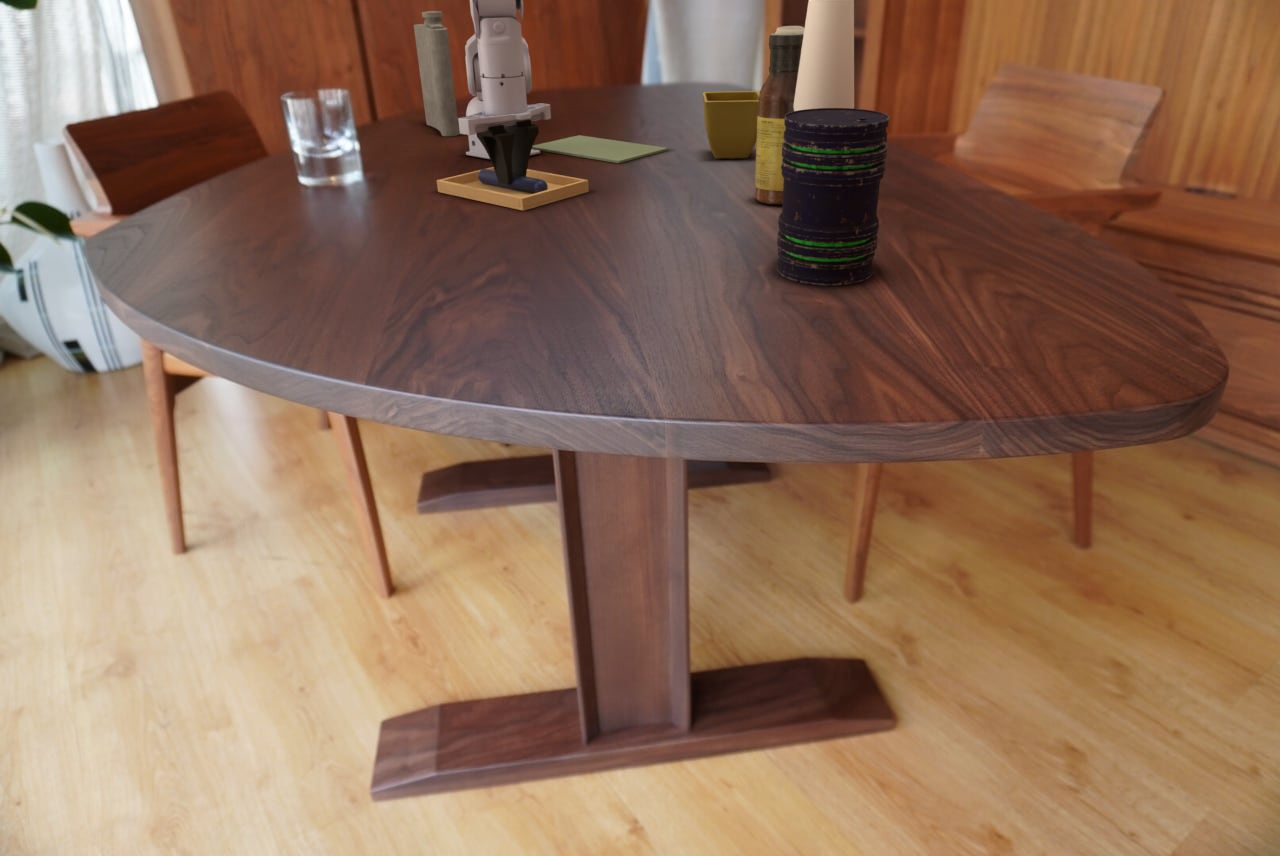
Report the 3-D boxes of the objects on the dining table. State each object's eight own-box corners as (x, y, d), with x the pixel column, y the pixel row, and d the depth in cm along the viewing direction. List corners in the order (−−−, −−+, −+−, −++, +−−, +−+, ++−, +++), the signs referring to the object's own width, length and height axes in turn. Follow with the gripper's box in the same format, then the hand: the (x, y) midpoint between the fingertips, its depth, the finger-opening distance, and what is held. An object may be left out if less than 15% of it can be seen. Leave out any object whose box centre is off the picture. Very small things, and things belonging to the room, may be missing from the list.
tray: (437, 192, 125) (436, 180, 124) (503, 175, 133) (502, 164, 133) (523, 210, 115) (522, 198, 114) (588, 191, 123) (588, 180, 123)
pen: (476, 183, 127) (474, 169, 126) (486, 181, 128) (485, 166, 128) (540, 197, 120) (539, 181, 119) (551, 194, 121) (550, 179, 120)
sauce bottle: (801, 207, 114) (812, 35, 104) (751, 206, 115) (758, 36, 105) (804, 194, 119) (814, 30, 110) (756, 193, 120) (762, 31, 111)
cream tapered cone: (776, 218, 110) (787, -2, 98) (825, 211, 112) (841, -4, 100) (804, 232, 104) (819, 1, 93) (855, 225, 106) (876, -1, 95)
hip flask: (425, 123, 174) (410, 9, 165) (445, 121, 176) (432, 8, 166) (443, 137, 162) (428, 14, 152) (466, 134, 163) (452, 12, 154)
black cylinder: (755, 270, 92) (761, 117, 85) (813, 249, 98) (823, 104, 91) (837, 293, 86) (851, 129, 79) (893, 268, 92) (911, 114, 85)
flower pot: (761, 161, 138) (764, 99, 134) (704, 162, 138) (704, 100, 134) (756, 150, 146) (758, 90, 141) (701, 150, 146) (702, 91, 142)
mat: (529, 148, 150) (528, 146, 150) (579, 137, 158) (579, 135, 158) (619, 163, 139) (619, 160, 139) (668, 150, 147) (668, 147, 147)
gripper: (480, 84, 110) (491, 196, 116) (564, 71, 120) (570, 175, 126) (443, 80, 114) (455, 188, 121) (527, 68, 124) (534, 169, 130)
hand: (511, 181), depth 124 cm, fingers closed on pen, 2 cm apart
